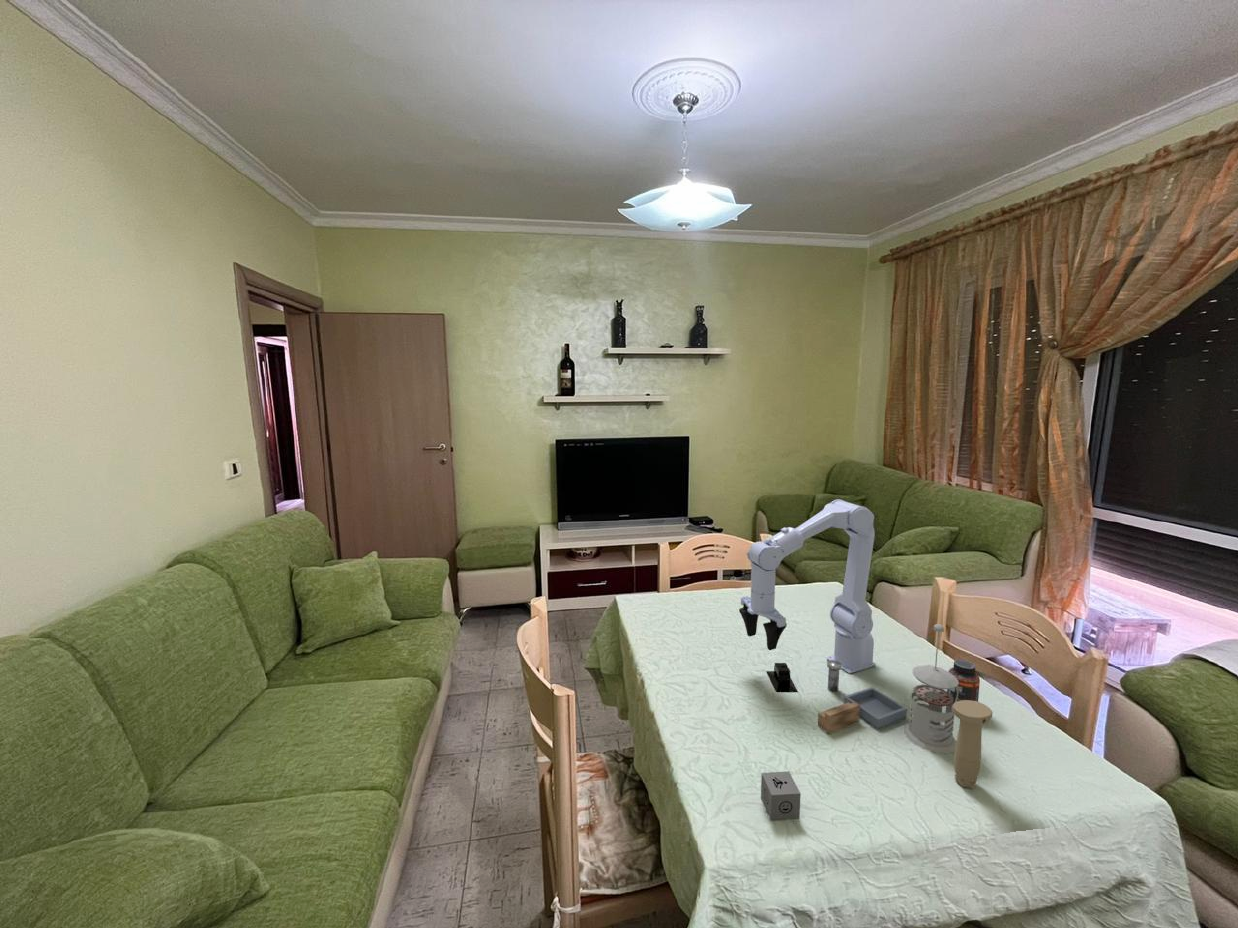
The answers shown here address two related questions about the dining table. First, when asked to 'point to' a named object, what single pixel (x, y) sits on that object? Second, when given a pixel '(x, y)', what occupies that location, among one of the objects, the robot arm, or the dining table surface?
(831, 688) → the pin
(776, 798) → the dice cube
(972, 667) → the supplement bottle
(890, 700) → the tray
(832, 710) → the bar
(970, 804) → the dining table surface
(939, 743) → the french press
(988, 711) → the handle
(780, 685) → the build plate
